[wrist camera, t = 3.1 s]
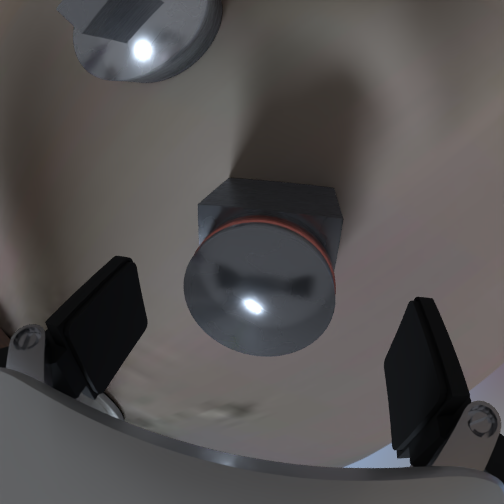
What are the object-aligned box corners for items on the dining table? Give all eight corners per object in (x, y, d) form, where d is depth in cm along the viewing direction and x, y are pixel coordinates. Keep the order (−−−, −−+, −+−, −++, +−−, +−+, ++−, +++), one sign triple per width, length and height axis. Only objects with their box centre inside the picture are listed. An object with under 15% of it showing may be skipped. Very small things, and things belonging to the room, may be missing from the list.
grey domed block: (334, 187, 16) (351, 239, 9) (320, 280, 18) (320, 364, 12) (227, 176, 16) (177, 220, 10) (227, 269, 19) (189, 344, 13)
